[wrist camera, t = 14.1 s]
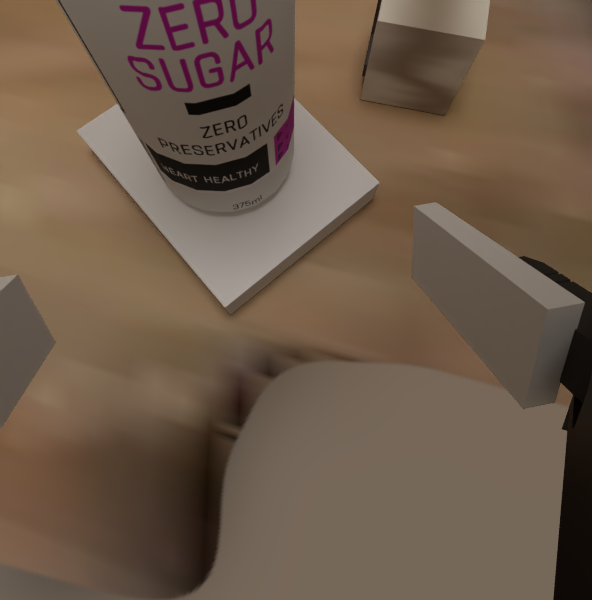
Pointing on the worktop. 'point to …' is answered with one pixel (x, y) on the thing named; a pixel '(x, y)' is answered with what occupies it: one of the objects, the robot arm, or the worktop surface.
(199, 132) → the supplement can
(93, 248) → the worktop surface
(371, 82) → the letter block
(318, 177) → the grey board
